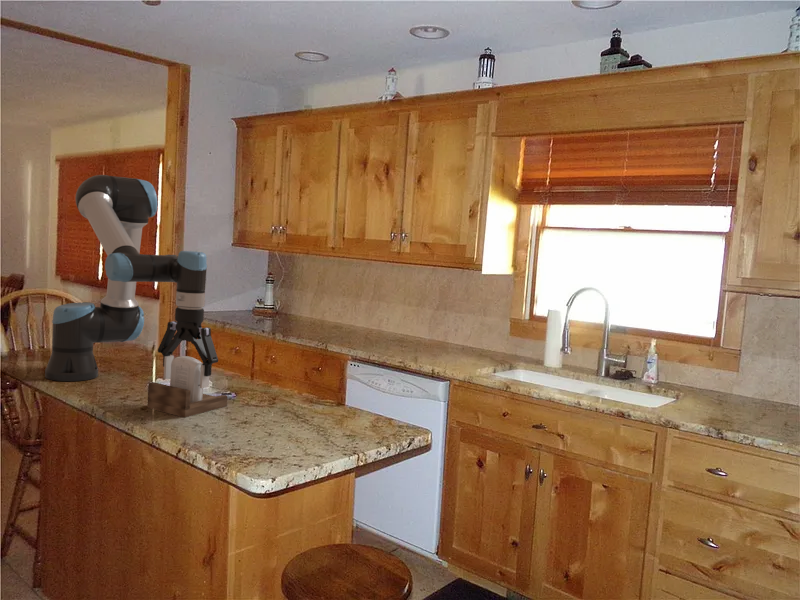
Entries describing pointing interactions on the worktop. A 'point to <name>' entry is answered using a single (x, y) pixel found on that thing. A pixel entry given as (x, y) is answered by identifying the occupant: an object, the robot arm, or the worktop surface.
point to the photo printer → (187, 376)
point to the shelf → (180, 400)
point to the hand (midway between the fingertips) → (185, 383)
